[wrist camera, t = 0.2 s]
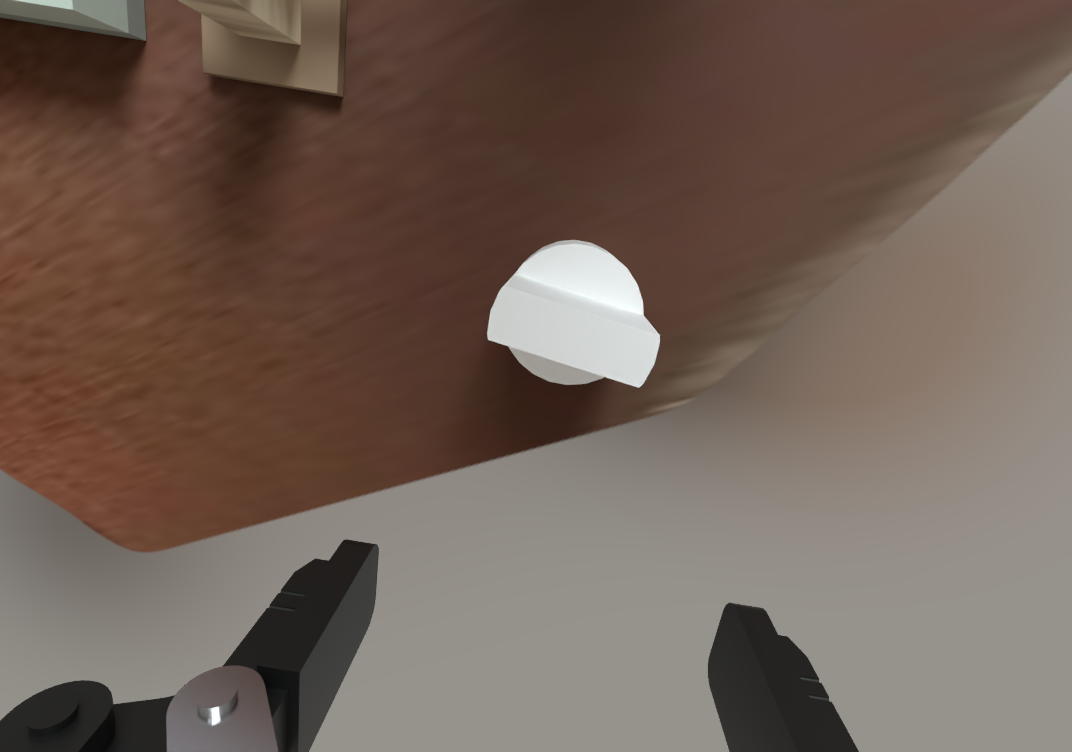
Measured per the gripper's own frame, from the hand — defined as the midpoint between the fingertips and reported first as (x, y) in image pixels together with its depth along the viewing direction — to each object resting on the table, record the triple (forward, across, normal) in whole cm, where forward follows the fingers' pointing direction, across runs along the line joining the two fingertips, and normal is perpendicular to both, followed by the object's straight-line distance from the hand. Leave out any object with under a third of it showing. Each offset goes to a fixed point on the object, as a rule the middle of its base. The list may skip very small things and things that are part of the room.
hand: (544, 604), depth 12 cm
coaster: (+29, +22, -18) cm, 41 cm away
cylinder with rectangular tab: (+29, 0, -2) cm, 29 cm away
